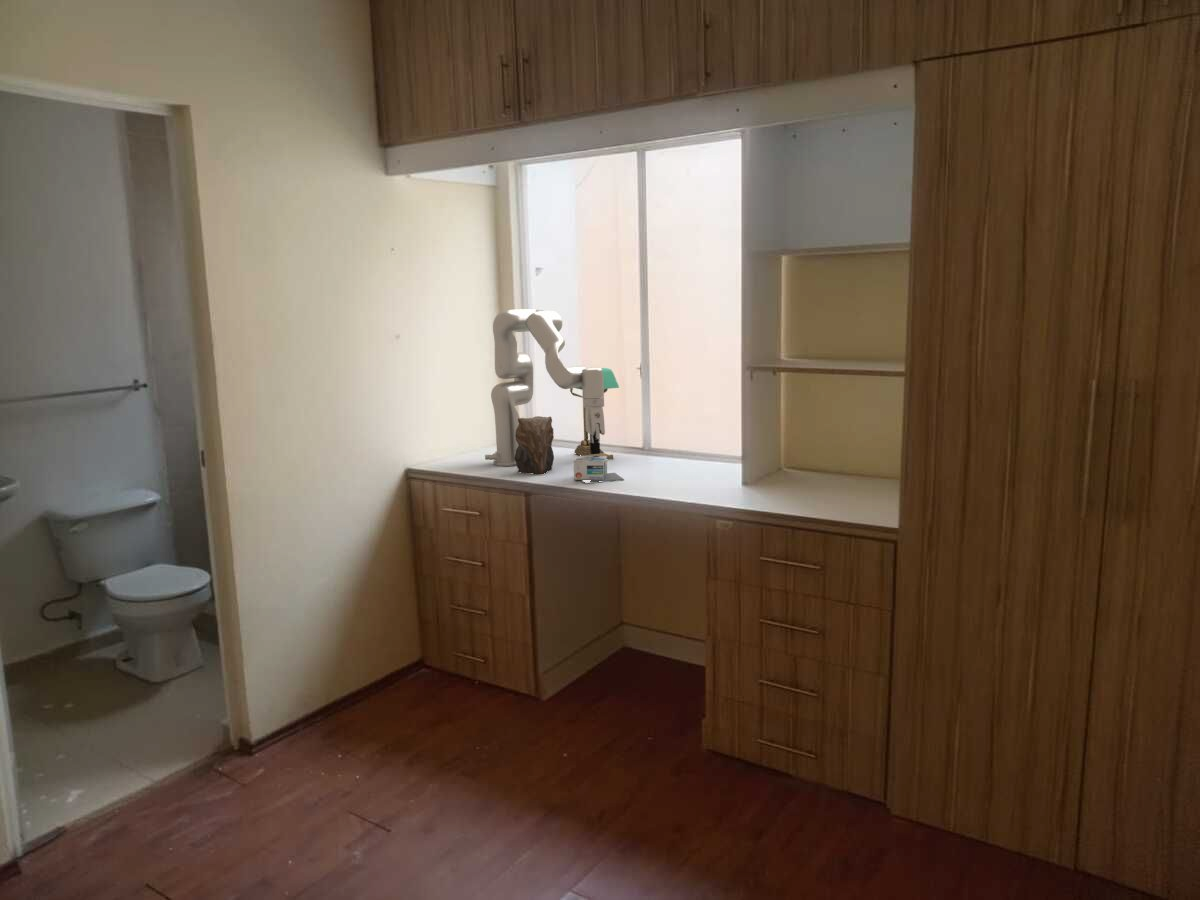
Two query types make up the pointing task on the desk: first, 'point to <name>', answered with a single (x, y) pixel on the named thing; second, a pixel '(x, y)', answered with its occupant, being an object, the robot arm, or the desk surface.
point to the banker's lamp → (584, 448)
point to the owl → (534, 445)
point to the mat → (609, 477)
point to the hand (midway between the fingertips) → (595, 453)
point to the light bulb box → (590, 468)
